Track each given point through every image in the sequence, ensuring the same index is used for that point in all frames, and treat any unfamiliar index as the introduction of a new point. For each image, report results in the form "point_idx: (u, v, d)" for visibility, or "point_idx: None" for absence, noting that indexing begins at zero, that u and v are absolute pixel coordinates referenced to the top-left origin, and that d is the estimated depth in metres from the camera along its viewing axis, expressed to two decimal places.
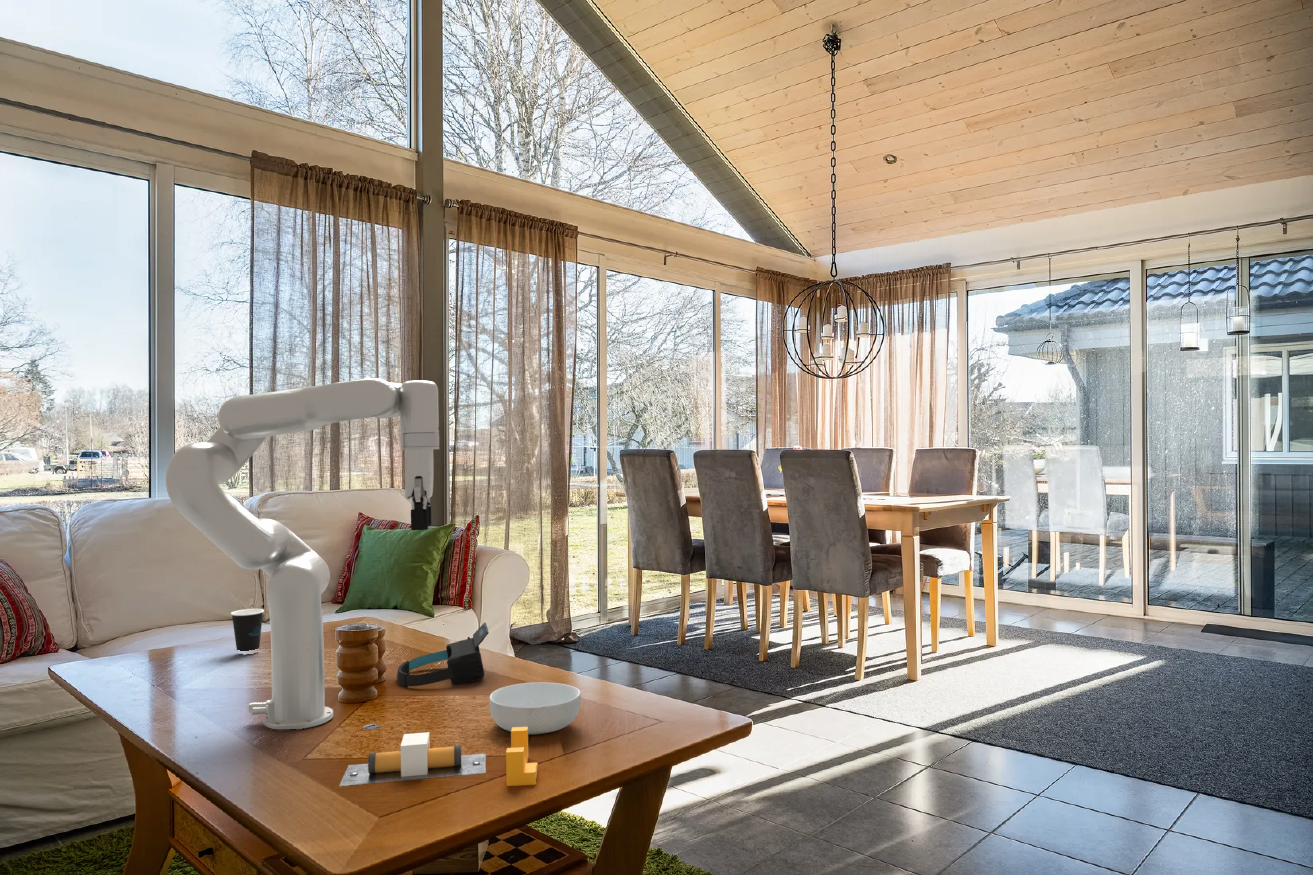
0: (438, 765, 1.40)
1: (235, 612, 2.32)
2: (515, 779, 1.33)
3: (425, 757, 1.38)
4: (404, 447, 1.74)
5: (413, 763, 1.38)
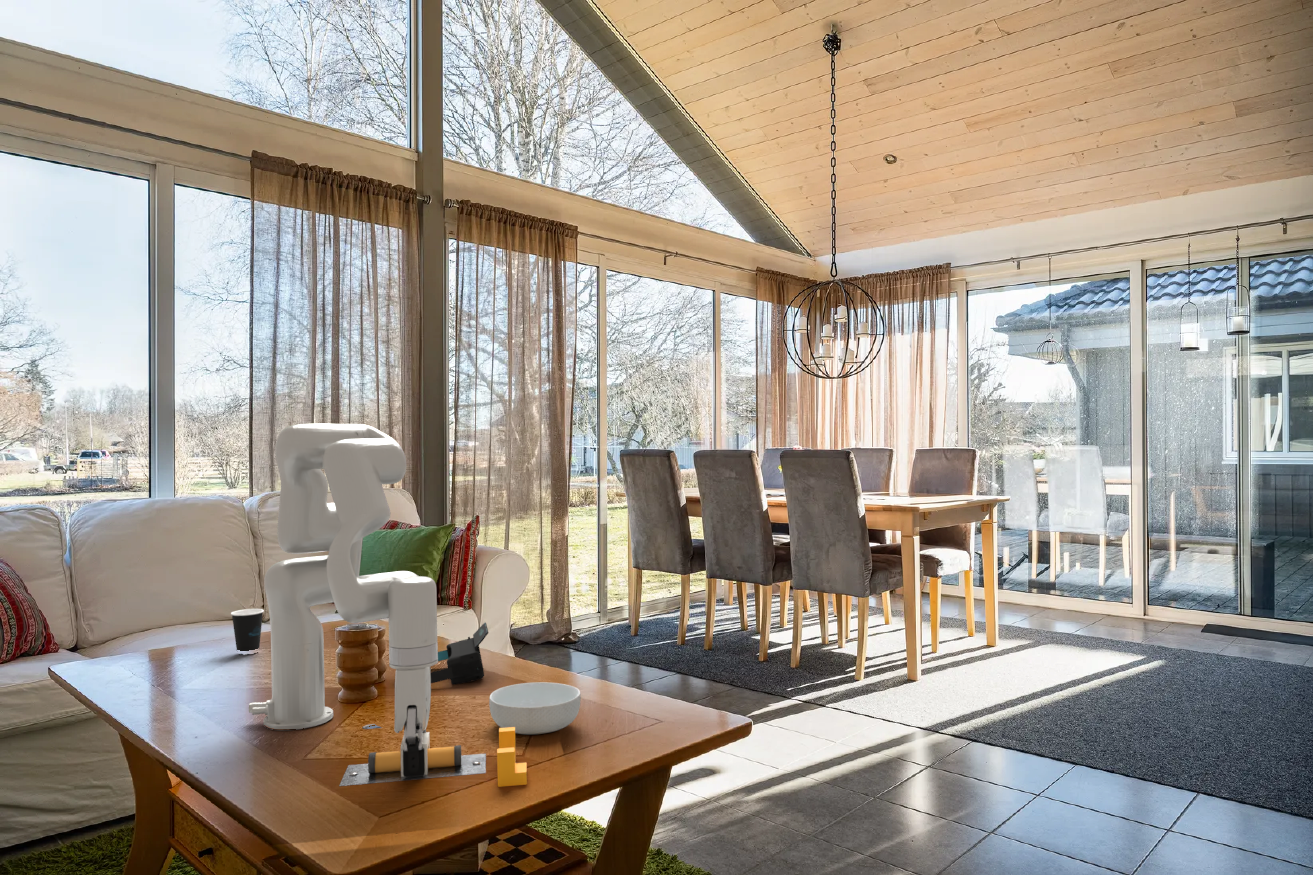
0: (438, 765, 1.40)
1: (235, 612, 2.32)
2: (506, 779, 1.33)
3: (425, 757, 1.38)
4: (394, 665, 1.38)
5: None
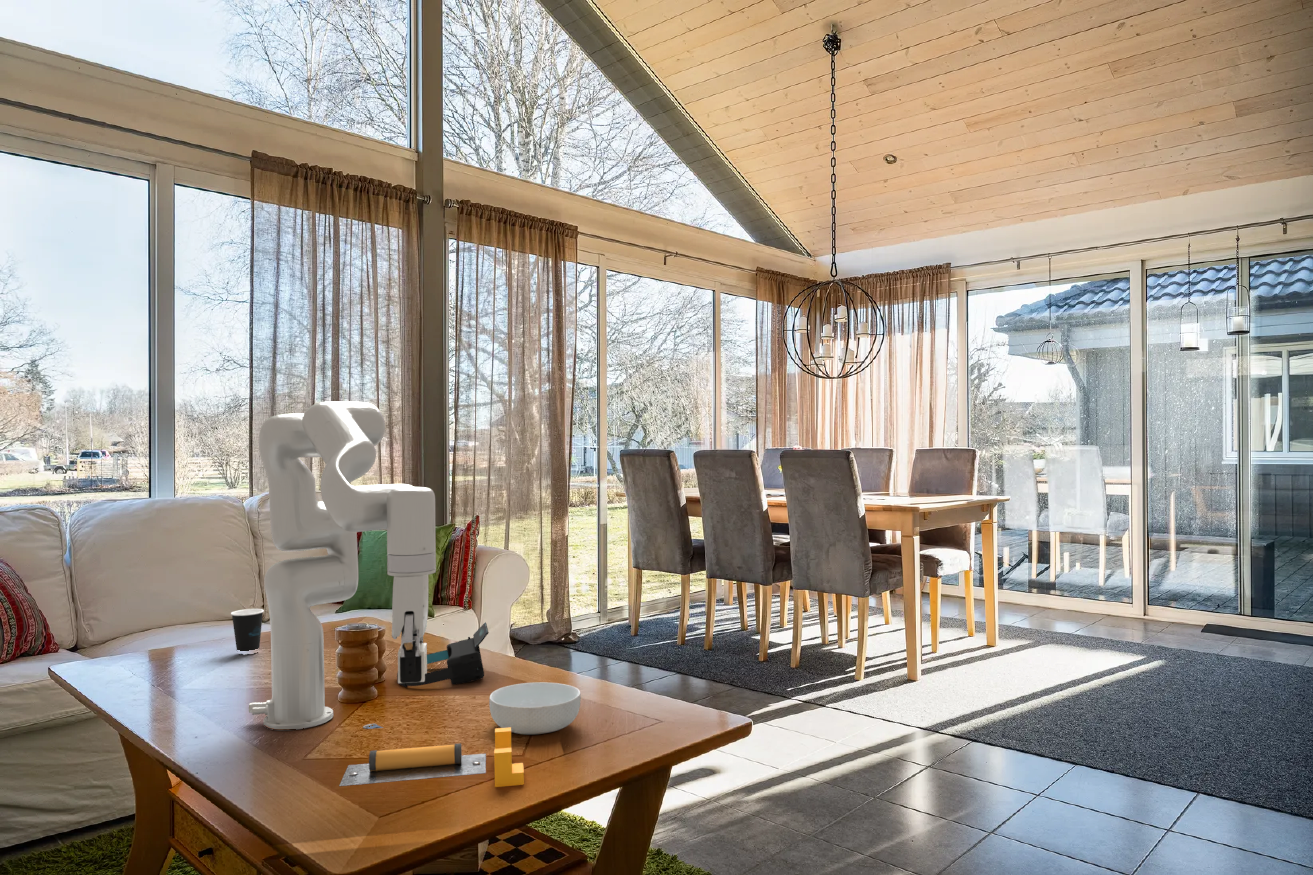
0: (438, 758, 1.41)
1: (235, 612, 2.32)
2: (503, 780, 1.33)
3: (422, 664, 1.39)
4: (392, 572, 1.38)
5: None
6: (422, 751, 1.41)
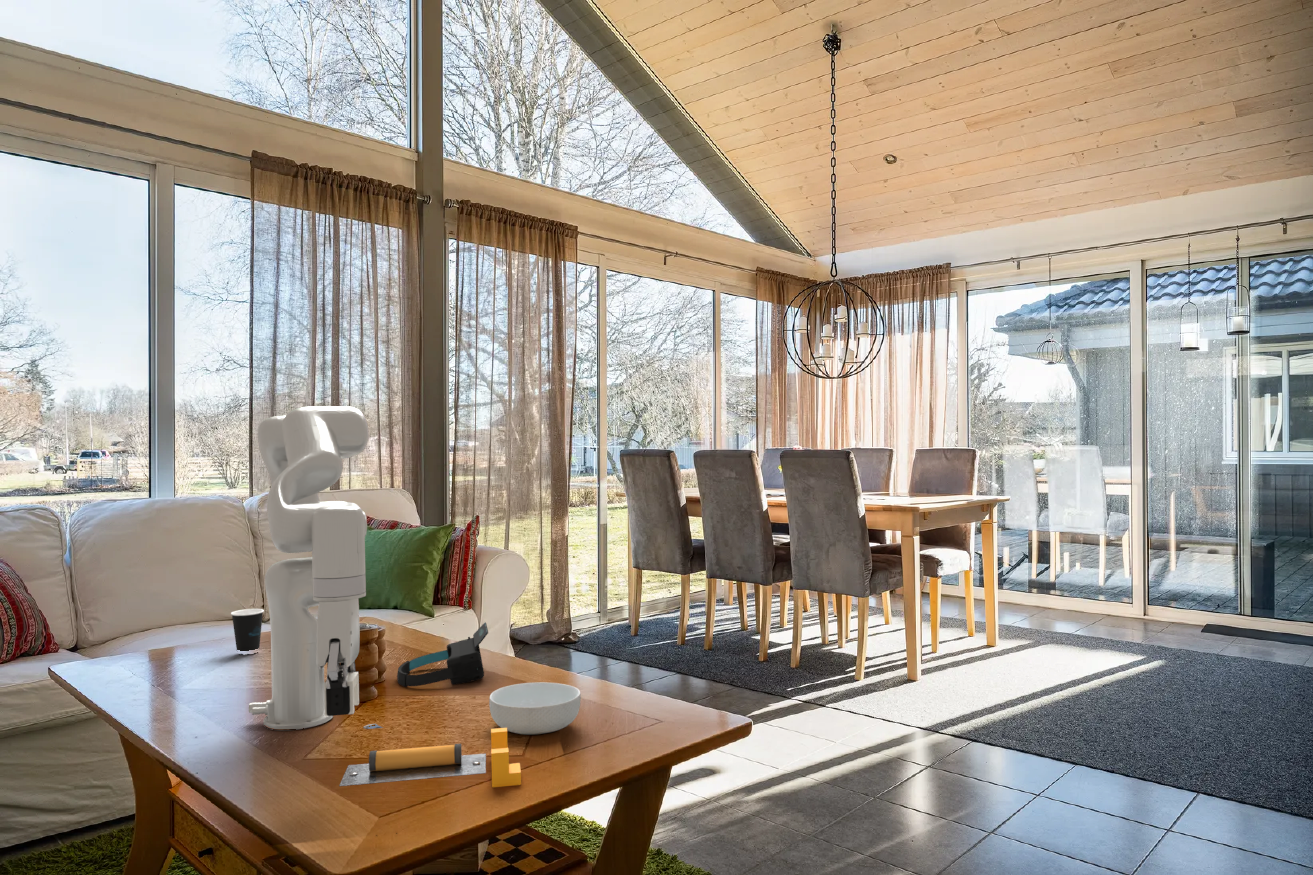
0: (438, 759, 1.41)
1: (235, 612, 2.32)
2: (500, 780, 1.33)
3: (351, 695, 1.29)
4: (317, 597, 1.29)
5: None
6: (422, 752, 1.41)
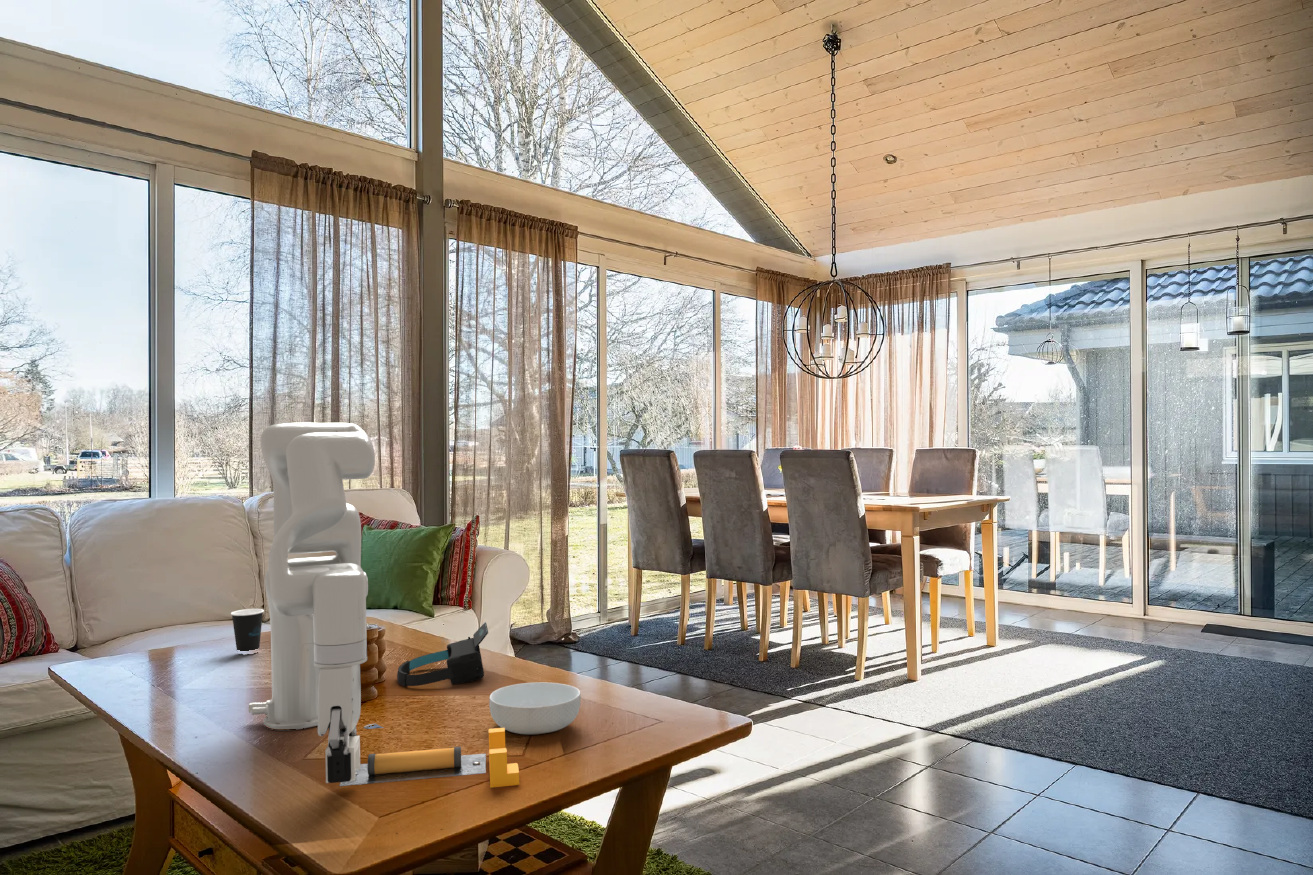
0: (438, 768, 1.40)
1: (235, 612, 2.32)
2: (499, 780, 1.33)
3: (352, 762, 1.29)
4: (318, 664, 1.29)
5: None
6: (422, 764, 1.39)
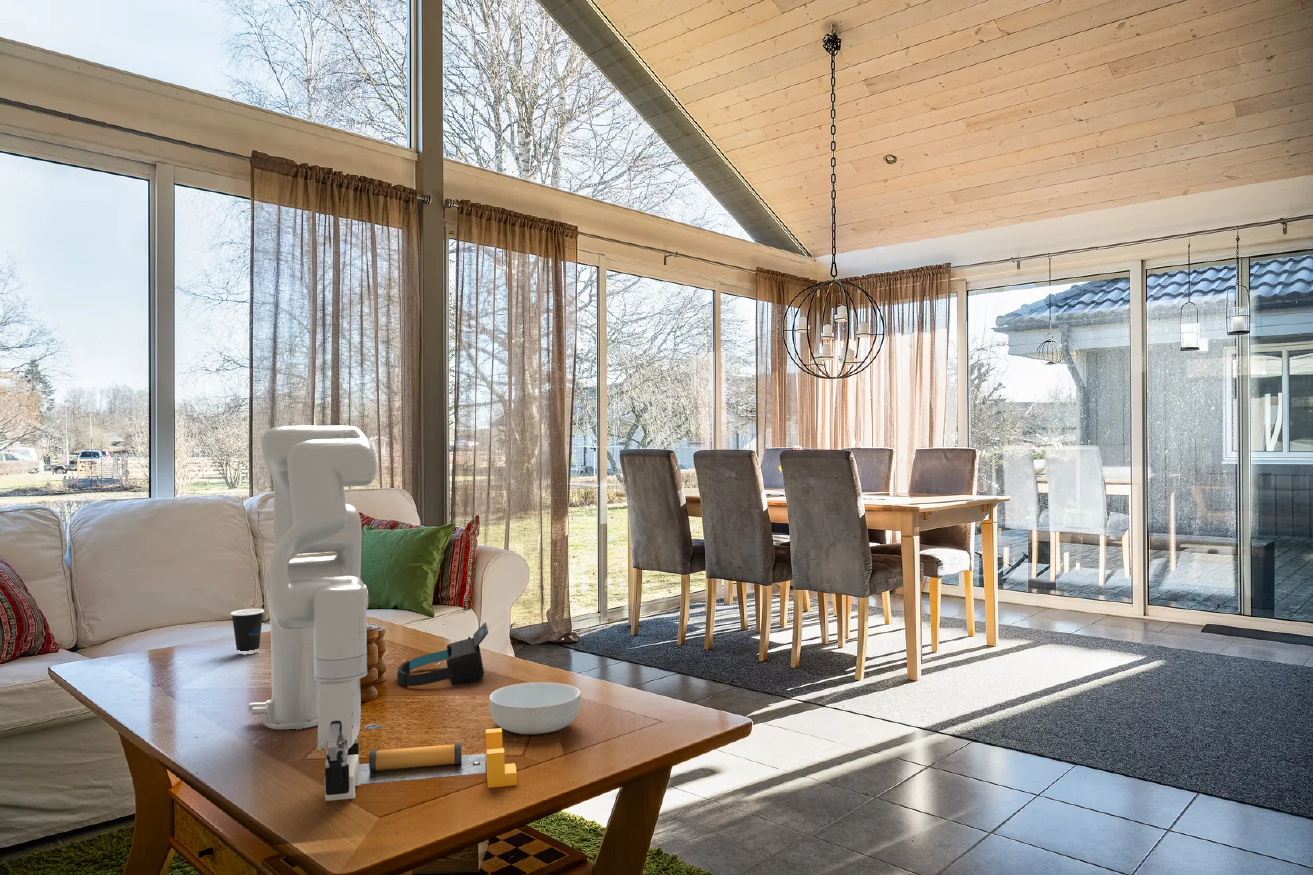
0: (438, 757, 1.41)
1: (235, 612, 2.32)
2: (496, 780, 1.33)
3: (351, 789, 1.29)
4: (318, 678, 1.29)
5: (339, 795, 1.29)
6: (422, 750, 1.41)
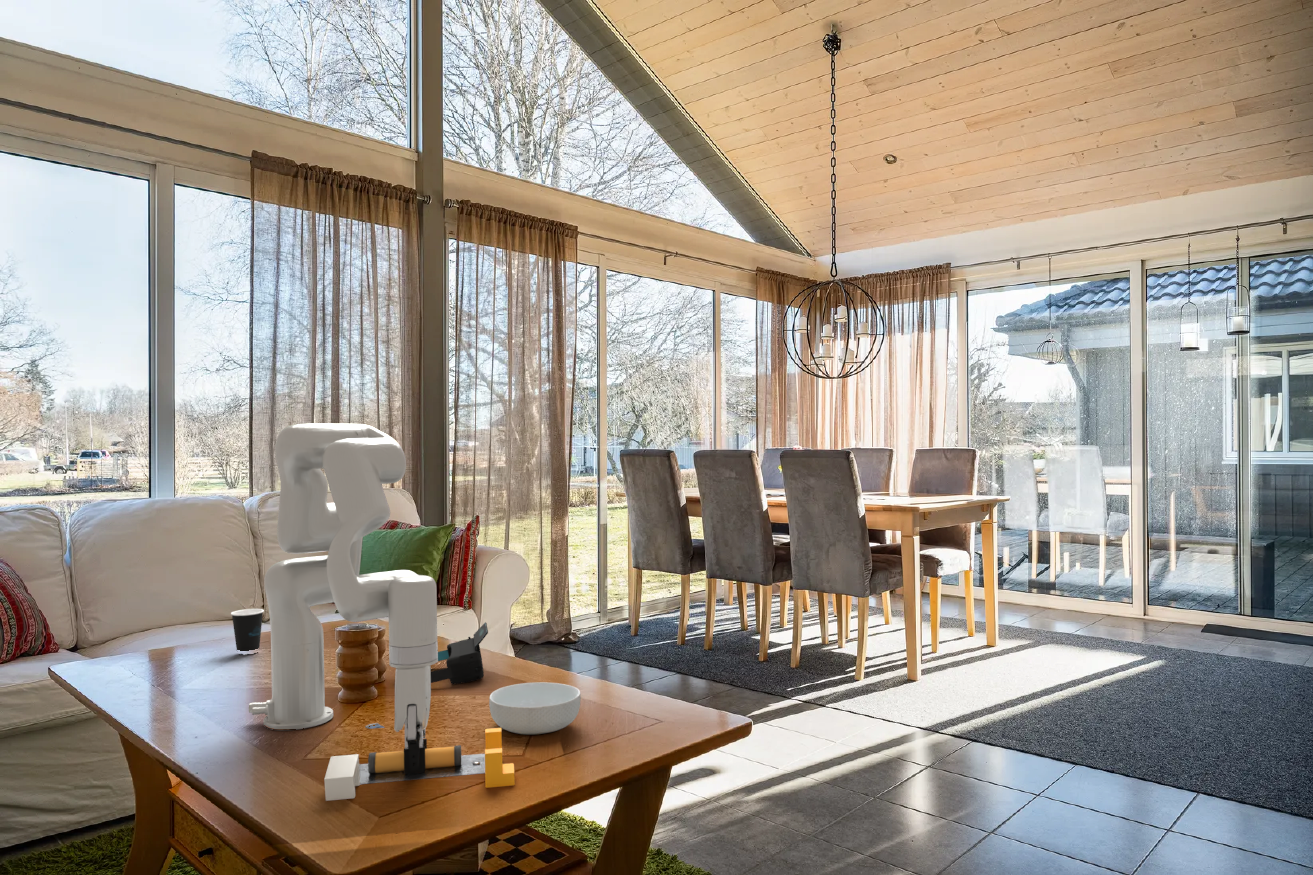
0: (438, 765, 1.40)
1: (235, 612, 2.32)
2: (494, 780, 1.33)
3: (352, 789, 1.29)
4: (394, 664, 1.38)
5: (339, 795, 1.29)
6: None
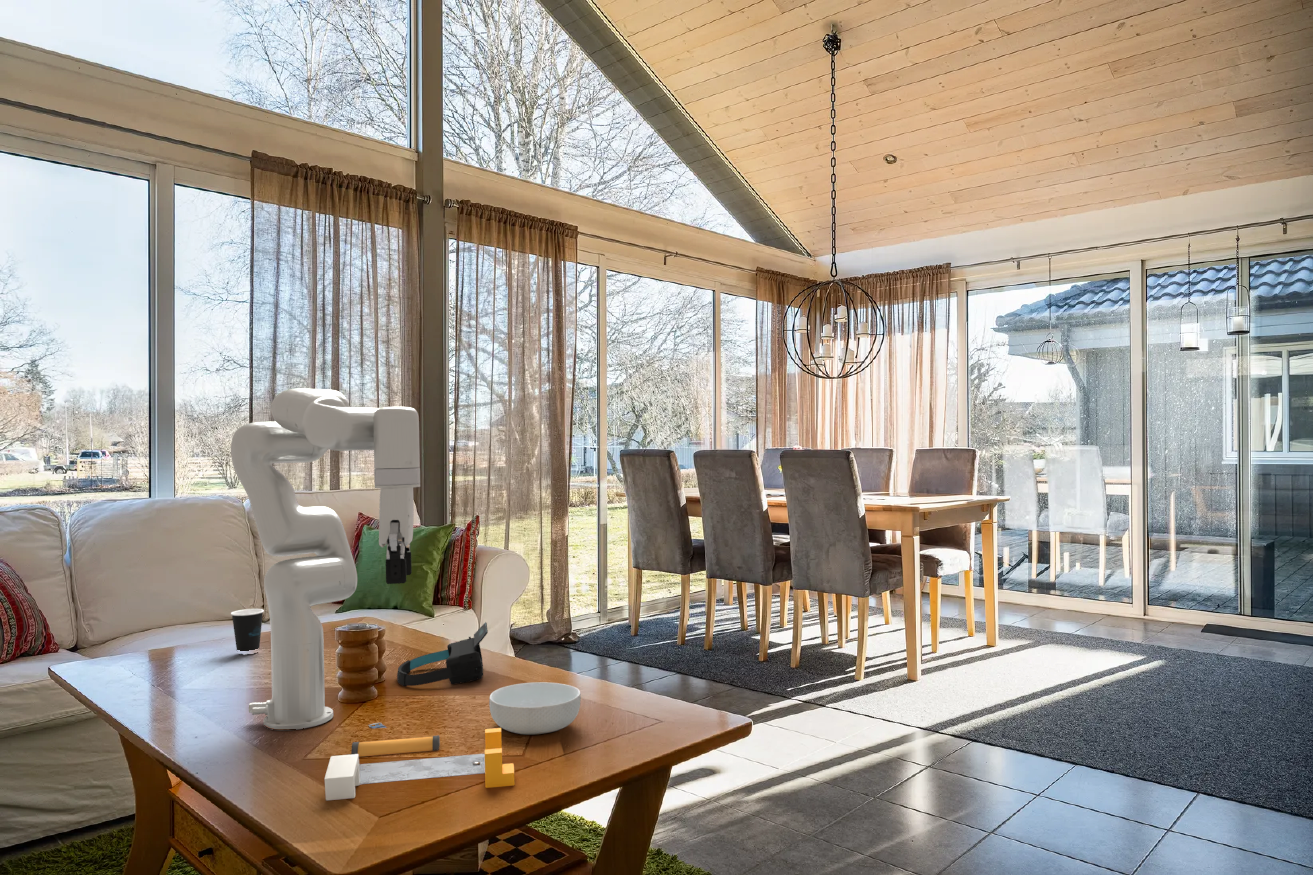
0: None
1: (235, 612, 2.32)
2: (494, 780, 1.33)
3: (352, 789, 1.29)
4: (378, 485, 1.48)
5: (339, 795, 1.29)
6: (402, 749, 1.49)
